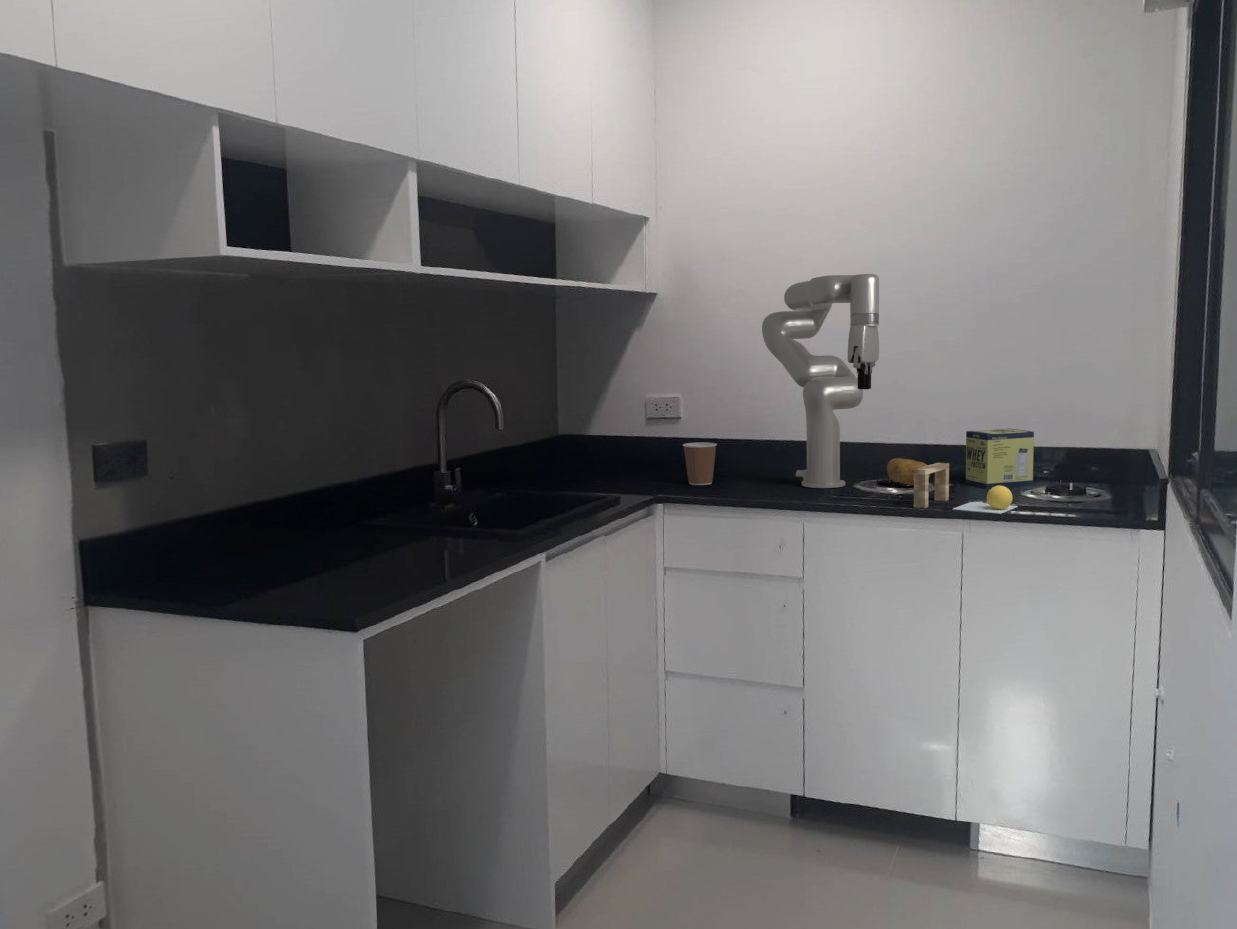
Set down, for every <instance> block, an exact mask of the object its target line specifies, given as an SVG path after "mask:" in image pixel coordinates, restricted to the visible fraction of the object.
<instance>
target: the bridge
mask: <svg viewBox="0 0 1237 929" xmlns="http://www.w3.org/2000/svg"><path fill="white" fill-rule="evenodd" d="M933 473H934V501H940V502H941V501H943V502H947V501H949V499H950V498H949V497H950V496H949V494H950V493H949V492H950V463H949V462H947V463H945V462H935V463H933V464H929V465H928V464H927V466H924V467H921V468H917V469H914V487H913V508H920V509H927V508H929V485H930V484H929V479H930V477H929V474H930V475H931V474H933Z"/></svg>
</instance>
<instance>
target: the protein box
mask: <svg viewBox="0 0 1237 929" xmlns="http://www.w3.org/2000/svg"><path fill="white" fill-rule="evenodd" d="M1034 432H1035V431H1030V430H1024V429H1017V428H1003V429H1002V428H999V429H997V428H996V429H984V430H967V431H966V433H965V434H966V436H965V485H969V486H973V487H977V488H983V489H985V490H988V489H989V488H991V487H993V486H1004V487H1006V488H1015V487H1027V486H1028V487H1029V486H1033V485H1034V484H1033V483H1034V451H1035V450H1034V449H1035V448H1034V444H1035V443H1034V441H1035V434H1034ZM989 490H990V489H989Z"/></svg>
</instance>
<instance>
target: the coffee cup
mask: <svg viewBox="0 0 1237 929" xmlns="http://www.w3.org/2000/svg"><path fill="white" fill-rule="evenodd" d="M682 446H683V447H684V448H683V451H684V459H685V465H686V474H687V480H688V483H689V484H690V485H692V486H707V485H711V484H712V482H713V480H714V479H713V478H714V469H715V461H716V460H715V458H716V450H717V448H716V446H718V444H717V443H715V442H688V443H683V444H682Z"/></svg>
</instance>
